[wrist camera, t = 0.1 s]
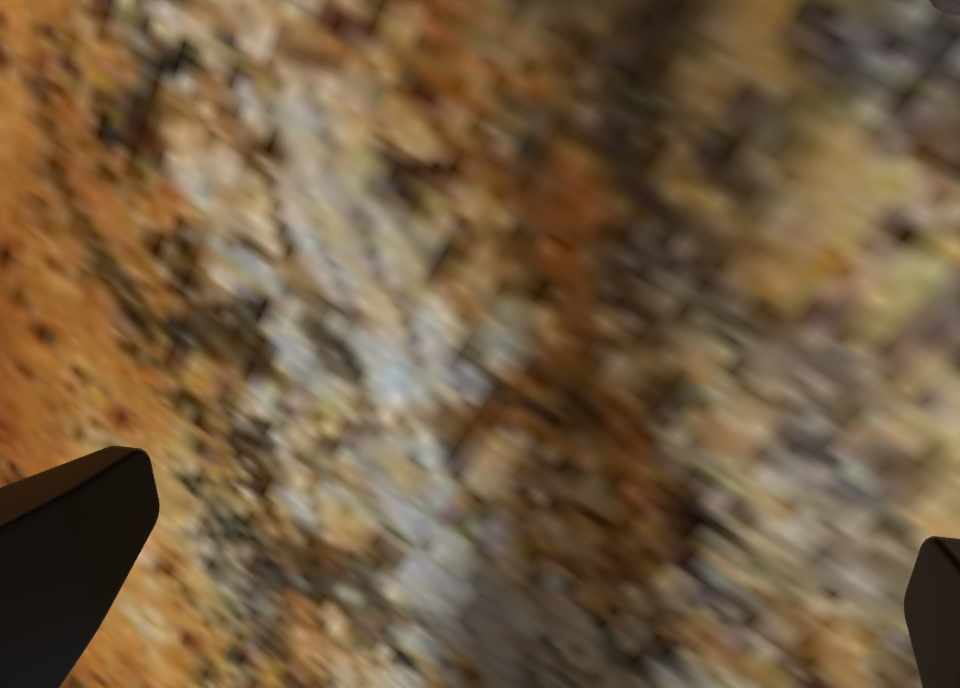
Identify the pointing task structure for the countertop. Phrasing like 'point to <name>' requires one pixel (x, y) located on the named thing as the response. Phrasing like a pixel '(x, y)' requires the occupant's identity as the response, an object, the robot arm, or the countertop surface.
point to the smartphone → (947, 6)
